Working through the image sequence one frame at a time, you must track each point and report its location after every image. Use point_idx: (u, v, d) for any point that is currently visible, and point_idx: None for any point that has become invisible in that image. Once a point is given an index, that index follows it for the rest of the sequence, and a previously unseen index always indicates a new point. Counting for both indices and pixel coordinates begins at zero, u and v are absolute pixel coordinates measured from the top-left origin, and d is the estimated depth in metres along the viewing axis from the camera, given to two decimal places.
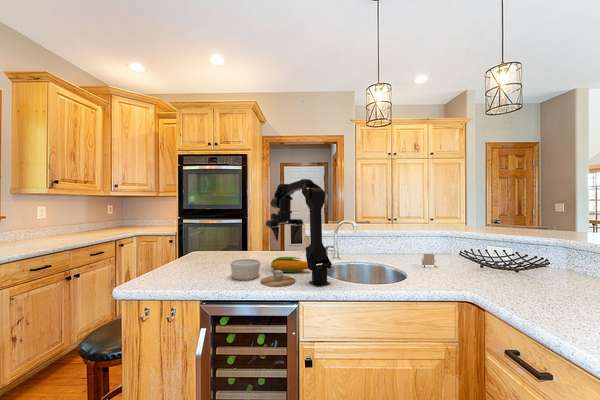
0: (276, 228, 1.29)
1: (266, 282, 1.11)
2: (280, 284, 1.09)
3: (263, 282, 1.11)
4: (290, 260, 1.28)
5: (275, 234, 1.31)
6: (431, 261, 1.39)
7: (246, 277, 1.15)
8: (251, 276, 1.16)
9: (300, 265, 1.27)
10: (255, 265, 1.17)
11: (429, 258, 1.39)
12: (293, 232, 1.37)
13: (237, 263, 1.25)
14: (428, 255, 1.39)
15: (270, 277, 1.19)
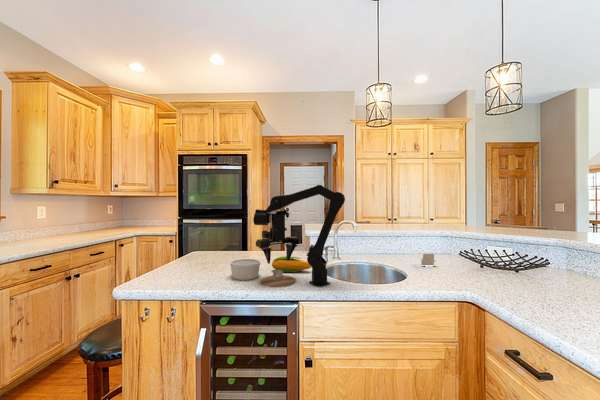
0: (268, 249, 1.08)
1: (267, 282, 1.11)
2: (280, 284, 1.09)
3: (263, 282, 1.11)
4: (290, 260, 1.29)
5: (267, 256, 1.11)
6: (431, 261, 1.39)
7: (246, 277, 1.15)
8: (251, 276, 1.16)
9: (300, 264, 1.27)
10: (255, 265, 1.17)
11: (429, 258, 1.40)
12: (288, 253, 1.16)
13: (237, 263, 1.25)
14: (428, 255, 1.40)
15: (270, 277, 1.19)
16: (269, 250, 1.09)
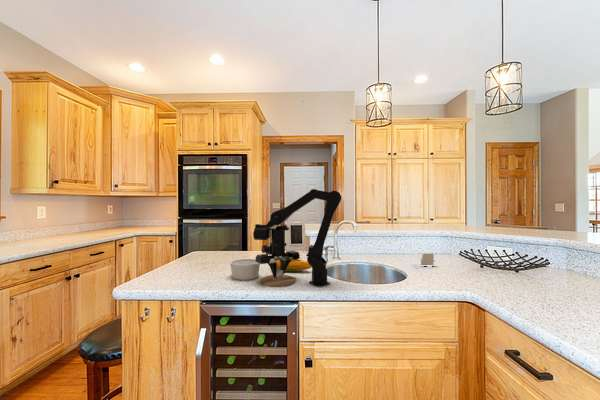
0: (274, 264, 1.10)
1: (267, 282, 1.11)
2: (280, 283, 1.09)
3: (263, 281, 1.11)
4: (291, 259, 1.29)
5: (272, 271, 1.12)
6: (430, 261, 1.40)
7: (246, 277, 1.15)
8: (251, 276, 1.16)
9: (301, 264, 1.27)
10: (255, 265, 1.17)
11: (428, 257, 1.40)
12: (282, 268, 1.15)
13: (237, 263, 1.25)
14: (427, 255, 1.40)
15: (270, 276, 1.19)
16: (275, 265, 1.10)
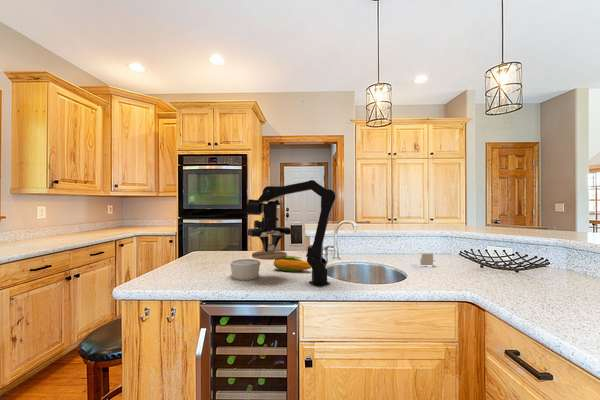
0: (265, 238, 1.12)
1: (258, 255, 1.12)
2: (271, 256, 1.10)
3: (255, 255, 1.13)
4: (291, 259, 1.30)
5: (264, 245, 1.14)
6: (430, 261, 1.40)
7: (246, 277, 1.15)
8: (251, 276, 1.16)
9: (301, 264, 1.28)
10: (255, 265, 1.17)
11: (428, 257, 1.40)
12: (274, 243, 1.16)
13: (237, 263, 1.25)
14: (426, 255, 1.40)
15: (262, 251, 1.20)
16: (266, 239, 1.12)
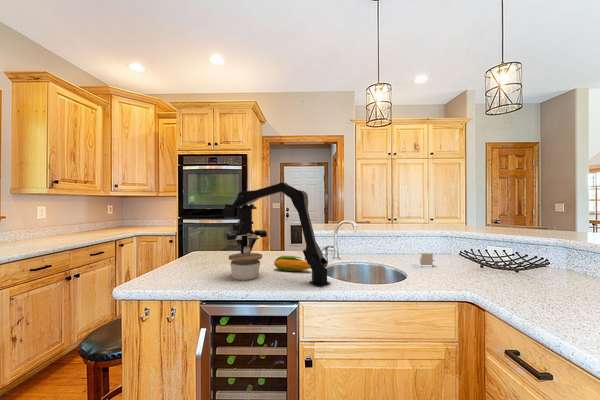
0: (240, 241, 1.17)
1: (234, 257, 1.17)
2: (246, 258, 1.15)
3: (231, 257, 1.18)
4: (291, 259, 1.30)
5: (240, 247, 1.19)
6: (429, 261, 1.40)
7: (246, 277, 1.15)
8: (251, 276, 1.16)
9: (301, 264, 1.28)
10: (255, 265, 1.17)
11: (427, 257, 1.40)
12: (249, 245, 1.21)
13: (237, 263, 1.25)
14: (426, 255, 1.40)
15: (239, 254, 1.25)
16: (242, 241, 1.17)
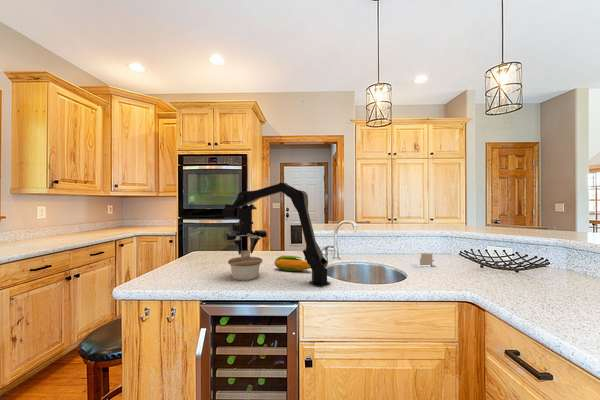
0: (238, 241, 1.16)
1: (234, 261, 1.18)
2: (246, 263, 1.15)
3: (230, 261, 1.18)
4: (291, 259, 1.30)
5: (237, 248, 1.18)
6: (429, 261, 1.40)
7: (246, 277, 1.15)
8: (251, 276, 1.16)
9: (301, 264, 1.28)
10: (255, 265, 1.17)
11: (427, 257, 1.40)
12: (252, 246, 1.22)
13: None
14: (426, 254, 1.41)
15: (239, 257, 1.25)
16: (239, 242, 1.17)
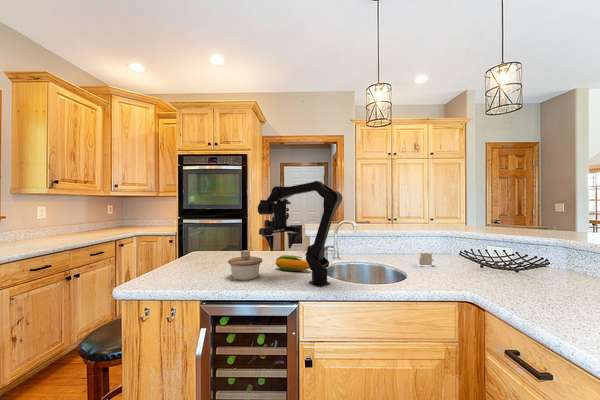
0: (270, 237, 1.14)
1: (233, 261, 1.18)
2: (246, 262, 1.15)
3: (230, 261, 1.18)
4: (292, 259, 1.31)
5: (269, 244, 1.16)
6: (429, 260, 1.41)
7: (246, 277, 1.15)
8: (251, 276, 1.16)
9: (301, 264, 1.28)
10: (255, 265, 1.17)
11: (426, 257, 1.41)
12: (290, 241, 1.22)
13: None
14: (425, 254, 1.41)
15: (239, 257, 1.25)
16: (272, 237, 1.14)
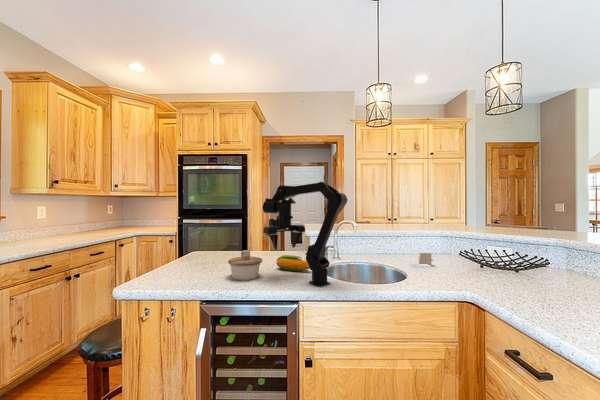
0: (275, 236, 1.14)
1: (234, 261, 1.18)
2: (246, 262, 1.15)
3: (230, 261, 1.18)
4: (292, 259, 1.31)
5: (273, 242, 1.16)
6: (428, 260, 1.41)
7: (246, 277, 1.15)
8: (251, 276, 1.16)
9: (301, 264, 1.28)
10: (255, 265, 1.17)
11: (426, 257, 1.41)
12: (294, 240, 1.22)
13: None
14: (425, 254, 1.41)
15: (239, 257, 1.25)
16: (276, 236, 1.14)
